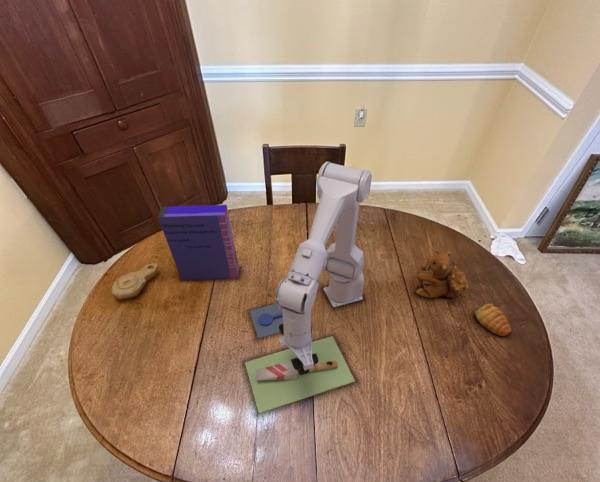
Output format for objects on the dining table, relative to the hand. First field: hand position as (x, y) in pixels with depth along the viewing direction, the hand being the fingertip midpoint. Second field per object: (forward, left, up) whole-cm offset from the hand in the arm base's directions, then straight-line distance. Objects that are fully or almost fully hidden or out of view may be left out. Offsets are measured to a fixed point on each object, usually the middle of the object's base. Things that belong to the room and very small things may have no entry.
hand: (298, 358), depth 82 cm
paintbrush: (0, 0, -6) cm, 6 cm away
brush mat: (0, 0, -6) cm, 6 cm away
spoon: (-1, -18, -6) cm, 19 cm away
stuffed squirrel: (-48, -12, -6) cm, 50 cm away
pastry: (-55, +3, -6) cm, 55 cm away
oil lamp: (+37, -44, -6) cm, 58 cm away
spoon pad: (0, -18, -6) cm, 19 cm away
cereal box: (+15, -42, -6) cm, 45 cm away
